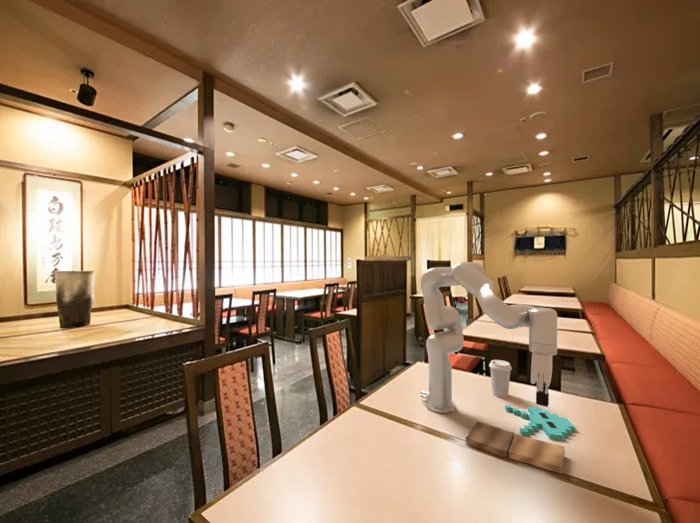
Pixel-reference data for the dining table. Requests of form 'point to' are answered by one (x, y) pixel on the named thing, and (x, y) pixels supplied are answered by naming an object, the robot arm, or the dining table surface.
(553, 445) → the oak plank
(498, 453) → the walnut board
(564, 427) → the alien figure
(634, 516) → the dining table surface
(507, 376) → the coffee cup
